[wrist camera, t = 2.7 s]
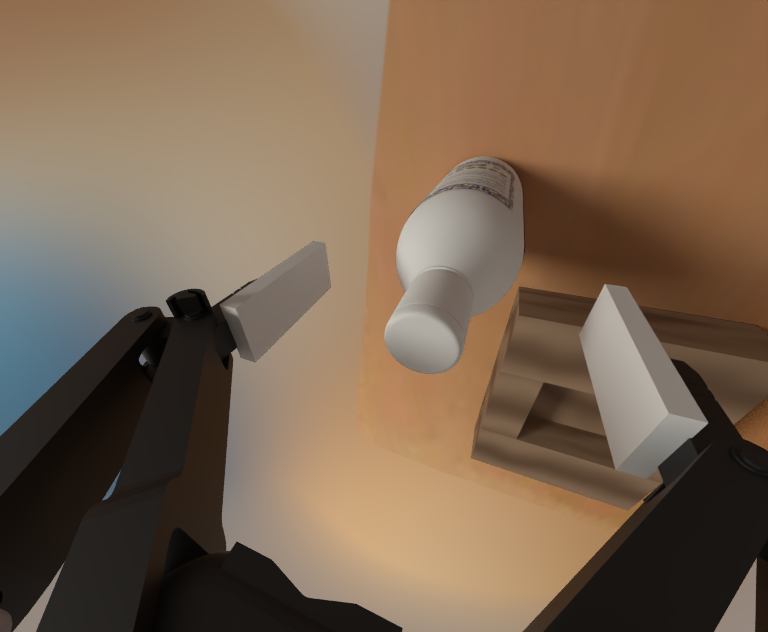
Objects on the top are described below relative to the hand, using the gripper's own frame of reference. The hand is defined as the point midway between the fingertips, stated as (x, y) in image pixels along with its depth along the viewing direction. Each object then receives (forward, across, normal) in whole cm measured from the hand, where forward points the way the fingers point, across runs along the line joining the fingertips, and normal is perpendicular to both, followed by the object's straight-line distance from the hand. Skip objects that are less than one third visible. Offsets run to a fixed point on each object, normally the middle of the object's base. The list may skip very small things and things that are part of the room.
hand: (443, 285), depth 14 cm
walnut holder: (+15, +14, -19) cm, 28 cm away
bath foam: (+15, 0, 0) cm, 15 cm away
